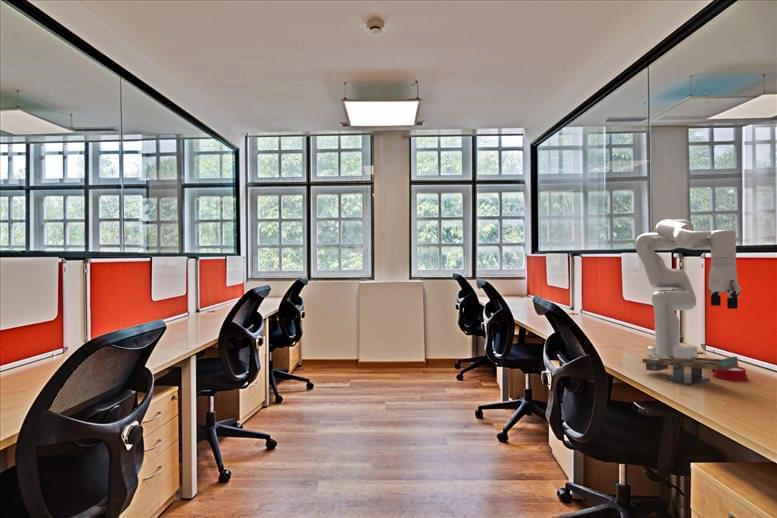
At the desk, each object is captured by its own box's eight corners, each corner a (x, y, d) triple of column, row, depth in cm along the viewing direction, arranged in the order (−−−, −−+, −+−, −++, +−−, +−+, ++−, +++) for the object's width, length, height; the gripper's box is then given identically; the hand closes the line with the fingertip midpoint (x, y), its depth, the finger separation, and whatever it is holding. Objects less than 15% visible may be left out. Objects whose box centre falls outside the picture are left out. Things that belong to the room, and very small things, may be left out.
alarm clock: (718, 371, 158) (707, 354, 171) (717, 386, 159) (706, 368, 173) (753, 374, 154) (739, 356, 167) (752, 389, 155) (738, 371, 168)
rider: (674, 360, 160) (672, 347, 161) (681, 359, 163) (679, 345, 163) (691, 362, 155) (689, 348, 156) (698, 360, 158) (696, 346, 158)
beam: (643, 370, 168) (641, 353, 169) (658, 367, 173) (656, 351, 174) (725, 379, 144) (722, 360, 144) (739, 375, 148) (736, 356, 149)
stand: (665, 380, 159) (664, 362, 159) (687, 375, 166) (686, 357, 166) (688, 386, 152) (688, 367, 152) (710, 380, 159) (710, 361, 159)
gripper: (699, 262, 170) (699, 304, 170) (727, 262, 153) (728, 309, 153) (719, 262, 169) (720, 304, 169) (750, 262, 152) (750, 309, 152)
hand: (723, 307), depth 161 cm, fingers open, 9 cm apart
